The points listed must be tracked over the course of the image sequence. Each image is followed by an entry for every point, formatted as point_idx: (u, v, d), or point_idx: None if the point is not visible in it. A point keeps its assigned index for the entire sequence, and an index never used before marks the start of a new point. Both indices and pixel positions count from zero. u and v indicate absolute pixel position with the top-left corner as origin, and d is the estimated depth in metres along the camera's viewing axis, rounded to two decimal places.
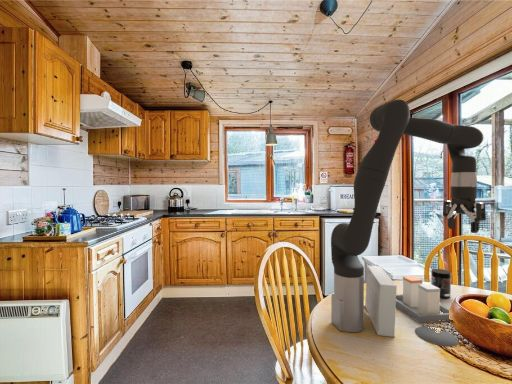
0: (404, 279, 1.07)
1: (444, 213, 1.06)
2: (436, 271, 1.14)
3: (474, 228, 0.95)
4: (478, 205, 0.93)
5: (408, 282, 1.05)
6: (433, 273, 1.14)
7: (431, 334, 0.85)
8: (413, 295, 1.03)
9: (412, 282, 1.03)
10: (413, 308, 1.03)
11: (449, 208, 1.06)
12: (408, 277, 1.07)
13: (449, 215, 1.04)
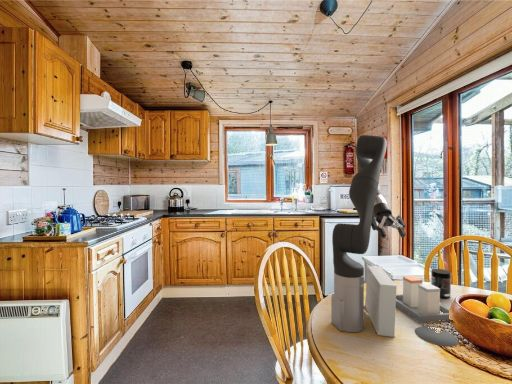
0: (404, 279, 1.07)
1: (375, 224, 1.19)
2: (436, 271, 1.14)
3: (404, 232, 1.18)
4: (400, 216, 1.23)
5: (408, 282, 1.05)
6: (433, 273, 1.14)
7: (431, 334, 0.85)
8: (413, 295, 1.03)
9: (412, 282, 1.03)
10: (413, 308, 1.03)
11: None
12: (408, 277, 1.07)
13: (381, 225, 1.19)
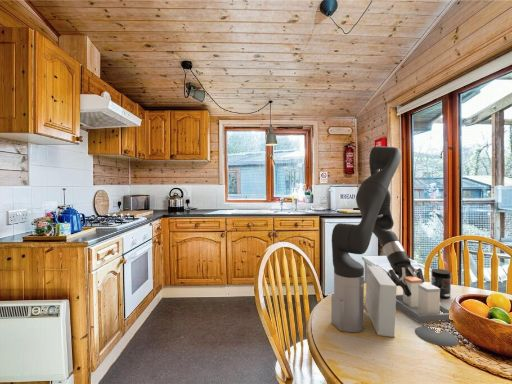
0: None
1: (398, 280, 1.06)
2: (436, 271, 1.14)
3: None
4: (421, 270, 1.10)
5: (408, 282, 1.05)
6: (433, 273, 1.14)
7: (431, 334, 0.85)
8: (413, 295, 1.03)
9: (412, 282, 1.03)
10: (413, 308, 1.03)
11: None
12: (408, 277, 1.07)
13: (405, 281, 1.06)
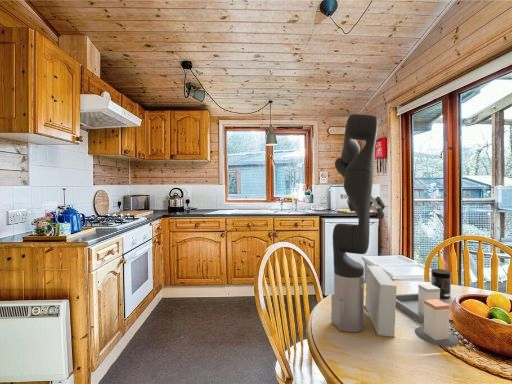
0: (426, 303, 0.85)
1: (353, 205, 1.13)
2: (436, 271, 1.14)
3: (382, 213, 1.12)
4: (379, 197, 1.17)
5: (431, 308, 0.83)
6: (433, 273, 1.14)
7: None
8: (438, 325, 0.82)
9: (437, 308, 0.81)
10: (413, 308, 1.03)
11: None
12: (431, 301, 0.85)
13: None
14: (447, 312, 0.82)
